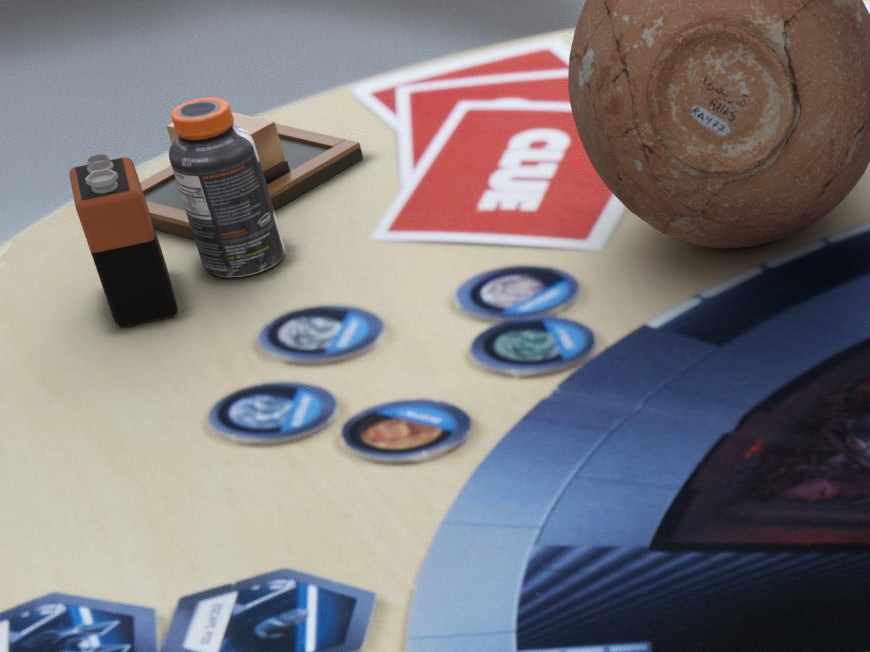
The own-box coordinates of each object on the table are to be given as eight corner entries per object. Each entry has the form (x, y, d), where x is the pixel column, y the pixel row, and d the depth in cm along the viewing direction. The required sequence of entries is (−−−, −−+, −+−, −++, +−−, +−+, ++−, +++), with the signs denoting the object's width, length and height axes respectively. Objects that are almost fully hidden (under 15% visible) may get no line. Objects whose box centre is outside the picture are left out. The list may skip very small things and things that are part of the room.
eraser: (251, 195, 178) (236, 143, 176) (179, 177, 182) (163, 125, 179) (291, 172, 181) (276, 120, 178) (219, 155, 184) (204, 104, 181)
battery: (116, 330, 166) (69, 192, 159) (108, 289, 171) (62, 153, 164) (180, 317, 167) (136, 179, 160) (170, 276, 171) (127, 141, 165)
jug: (500, 175, 156) (549, 115, 183) (795, 334, 162) (802, 253, 188) (642, -147, 148) (672, -161, 175) (948, 33, 154) (932, -7, 180)
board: (215, 244, 175) (210, 228, 174) (110, 217, 179) (104, 201, 179) (363, 158, 185) (359, 142, 184) (260, 134, 189) (256, 118, 188)
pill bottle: (292, 239, 175) (249, 85, 167) (279, 276, 170) (235, 120, 163) (211, 246, 175) (164, 93, 167) (196, 283, 170) (148, 128, 163)
